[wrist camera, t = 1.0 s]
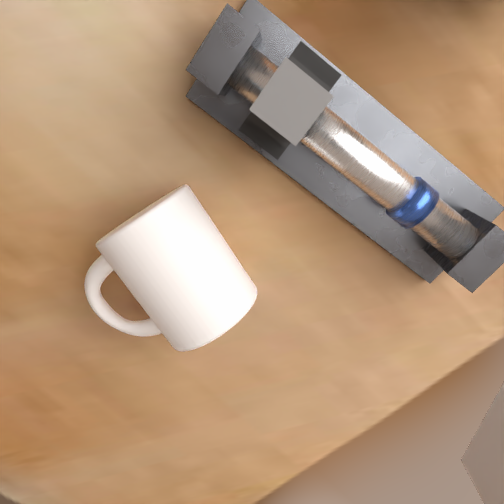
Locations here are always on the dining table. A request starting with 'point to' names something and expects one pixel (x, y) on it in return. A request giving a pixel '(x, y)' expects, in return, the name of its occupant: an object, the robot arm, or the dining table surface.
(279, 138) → the collar
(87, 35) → the dining table surface
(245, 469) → the dining table surface
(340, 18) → the dining table surface
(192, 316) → the mug
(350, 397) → the dining table surface
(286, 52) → the pipe rig
